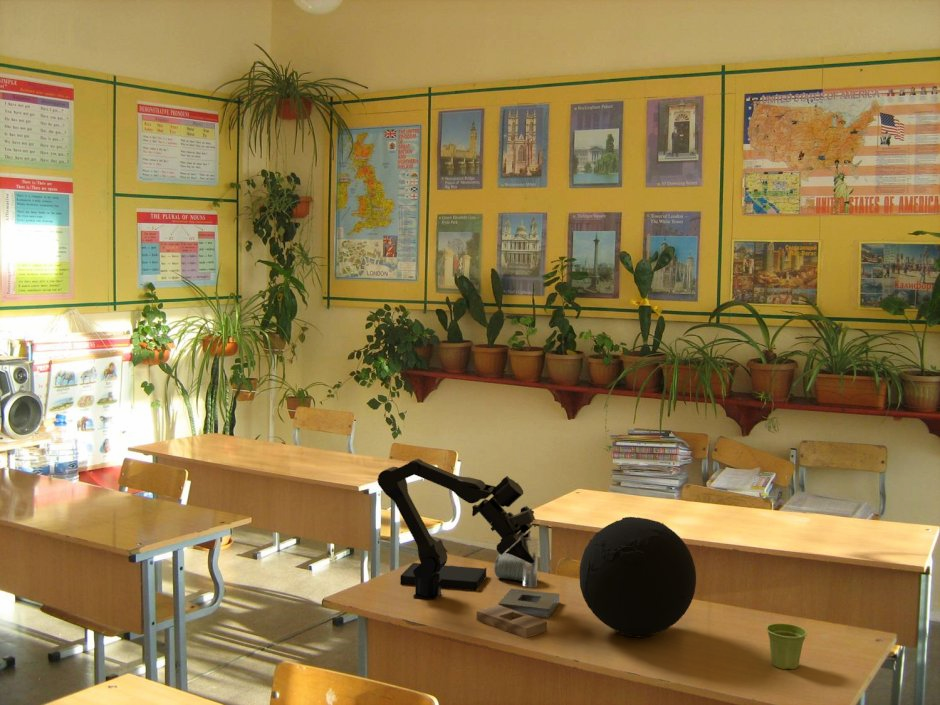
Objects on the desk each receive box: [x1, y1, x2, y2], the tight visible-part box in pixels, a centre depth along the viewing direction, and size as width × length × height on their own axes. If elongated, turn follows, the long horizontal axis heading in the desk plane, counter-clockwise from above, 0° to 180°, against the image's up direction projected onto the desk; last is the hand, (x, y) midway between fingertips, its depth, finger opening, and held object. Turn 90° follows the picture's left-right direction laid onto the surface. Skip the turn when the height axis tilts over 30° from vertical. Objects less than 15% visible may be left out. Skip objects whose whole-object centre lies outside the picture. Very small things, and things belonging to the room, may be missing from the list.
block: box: [497, 588, 560, 619], centre depth 285 cm, size 14×14×2 cm
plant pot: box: [766, 622, 808, 670], centre depth 245 cm, size 9×9×9 cm
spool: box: [493, 551, 539, 582], centre depth 311 cm, size 14×10×10 cm
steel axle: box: [521, 536, 539, 588], centre depth 284 cm, size 4×4×13 cm
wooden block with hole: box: [475, 604, 548, 639], centre depth 270 cm, size 18×8×2 cm, turn 44°
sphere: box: [578, 516, 697, 638], centre depth 265 cm, size 30×30×30 cm
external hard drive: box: [399, 562, 487, 591], centre depth 309 cm, size 14×23×3 cm, turn 78°
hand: (534, 560), depth 284 cm, fingers closed on steel axle, 4 cm apart
